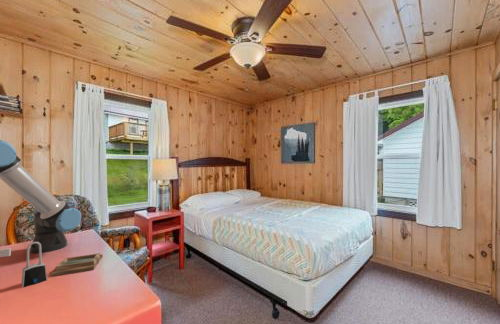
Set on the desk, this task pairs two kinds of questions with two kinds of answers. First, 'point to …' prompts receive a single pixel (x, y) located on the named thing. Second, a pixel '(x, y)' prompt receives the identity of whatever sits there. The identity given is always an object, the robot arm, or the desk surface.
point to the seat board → (77, 264)
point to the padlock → (34, 270)
